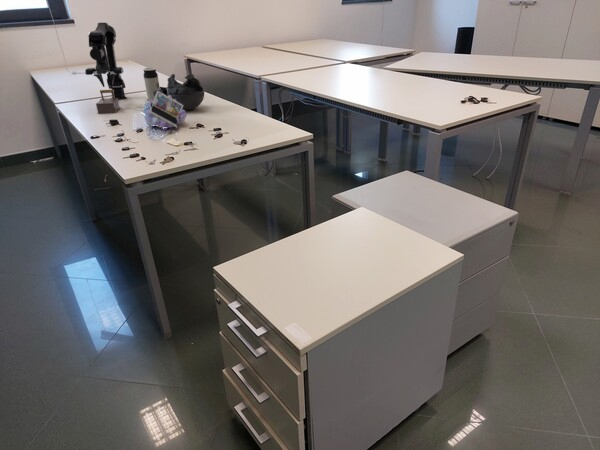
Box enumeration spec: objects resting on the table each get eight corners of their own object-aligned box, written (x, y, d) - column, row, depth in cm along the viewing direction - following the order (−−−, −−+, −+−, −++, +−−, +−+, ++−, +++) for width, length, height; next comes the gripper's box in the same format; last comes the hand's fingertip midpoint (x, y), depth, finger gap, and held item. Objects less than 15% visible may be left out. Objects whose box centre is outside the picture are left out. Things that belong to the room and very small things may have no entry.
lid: (101, 99, 235) (98, 89, 232) (117, 99, 236) (115, 88, 233) (96, 104, 225) (93, 94, 222) (113, 104, 226) (111, 93, 223)
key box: (103, 108, 237) (101, 99, 234) (119, 107, 238) (117, 99, 236) (98, 113, 227) (96, 105, 225) (115, 112, 228) (113, 104, 226)
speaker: (167, 102, 246) (163, 85, 240) (171, 105, 242) (167, 87, 236) (155, 106, 243) (150, 88, 237) (159, 108, 239) (154, 90, 233)
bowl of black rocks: (213, 109, 235) (209, 74, 225) (183, 116, 222) (177, 80, 213) (192, 103, 246) (188, 70, 237) (162, 109, 234) (157, 74, 224)
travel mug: (145, 100, 253) (139, 69, 244) (153, 97, 259) (148, 67, 250) (155, 101, 250) (150, 70, 241) (164, 98, 256) (159, 67, 247)
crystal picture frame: (166, 107, 220) (147, 81, 205) (199, 110, 211) (182, 82, 197) (147, 136, 211) (126, 111, 196) (181, 140, 203) (162, 114, 188)
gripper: (79, 60, 219) (86, 90, 226) (116, 59, 221) (122, 89, 229) (84, 56, 228) (92, 86, 236) (120, 56, 231) (126, 85, 239)
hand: (108, 86), depth 235 cm, fingers open, 4 cm apart
